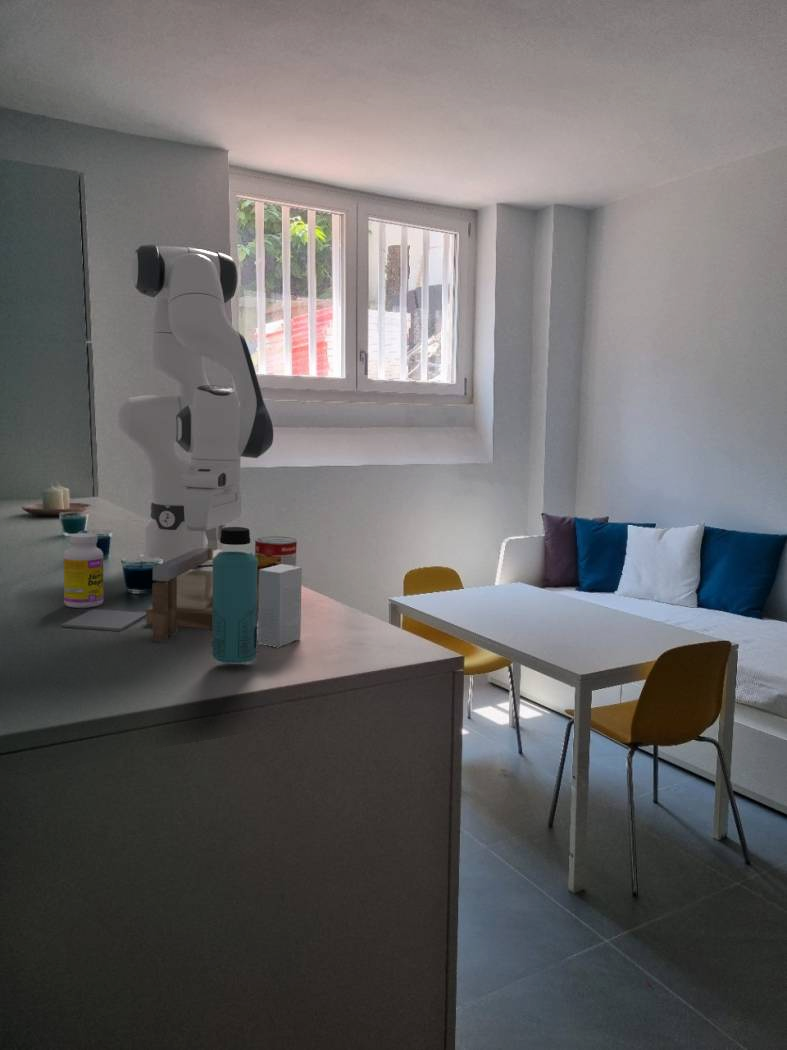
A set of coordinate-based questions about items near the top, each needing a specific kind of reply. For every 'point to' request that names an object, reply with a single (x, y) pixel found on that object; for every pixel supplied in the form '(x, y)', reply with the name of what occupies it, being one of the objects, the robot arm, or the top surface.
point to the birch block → (195, 589)
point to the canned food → (274, 552)
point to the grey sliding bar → (182, 564)
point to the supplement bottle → (83, 572)
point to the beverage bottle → (234, 600)
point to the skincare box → (279, 605)
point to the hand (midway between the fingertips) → (215, 549)
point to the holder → (172, 612)
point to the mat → (105, 620)
